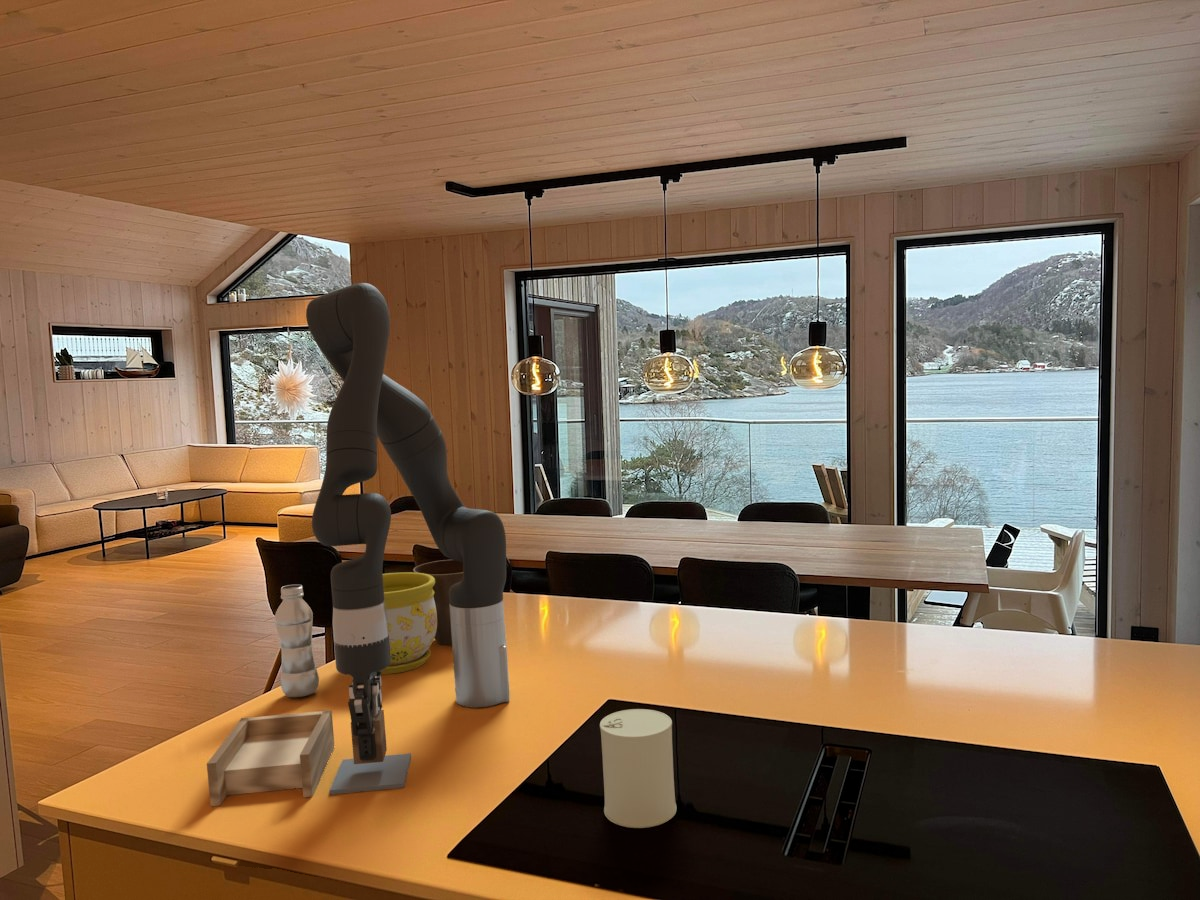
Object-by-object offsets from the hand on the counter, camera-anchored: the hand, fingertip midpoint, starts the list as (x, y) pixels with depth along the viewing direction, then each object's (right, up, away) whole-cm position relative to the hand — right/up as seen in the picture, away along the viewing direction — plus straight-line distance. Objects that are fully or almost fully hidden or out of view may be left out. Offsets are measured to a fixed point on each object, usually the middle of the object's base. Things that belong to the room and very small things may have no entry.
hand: (370, 751), depth 130 cm
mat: (0, -3, 0) cm, 3 cm away
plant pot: (+2, +2, +65) cm, 65 cm away
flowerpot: (-8, 0, +51) cm, 51 cm away
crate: (-14, -4, +2) cm, 15 cm away
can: (+38, -3, -14) cm, 40 cm away
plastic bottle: (-21, -2, +35) cm, 41 cm away
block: (0, -1, 0) cm, 1 cm away
